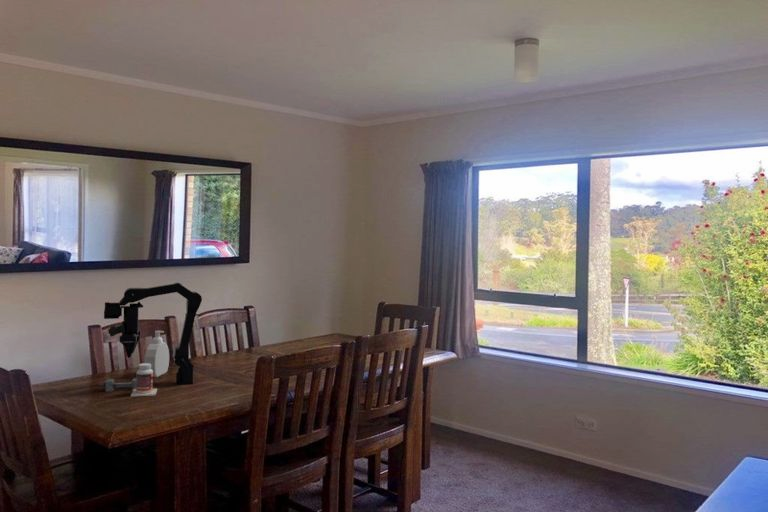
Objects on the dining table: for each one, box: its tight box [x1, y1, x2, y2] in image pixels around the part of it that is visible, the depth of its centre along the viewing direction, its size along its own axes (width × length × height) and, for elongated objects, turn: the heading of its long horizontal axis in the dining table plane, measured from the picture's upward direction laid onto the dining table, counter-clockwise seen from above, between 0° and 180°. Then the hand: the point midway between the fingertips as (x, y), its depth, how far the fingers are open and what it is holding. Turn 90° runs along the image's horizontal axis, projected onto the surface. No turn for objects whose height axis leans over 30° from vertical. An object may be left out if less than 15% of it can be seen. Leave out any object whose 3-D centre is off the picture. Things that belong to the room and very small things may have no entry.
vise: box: [98, 377, 136, 393], centre depth 246 cm, size 15×8×4 cm, turn 106°
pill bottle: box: [135, 362, 154, 393], centre depth 241 cm, size 6×6×11 cm
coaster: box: [130, 388, 158, 398], centre depth 241 cm, size 9×9×1 cm
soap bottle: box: [143, 330, 170, 378], centre depth 273 cm, size 16×5×20 cm, turn 177°
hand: (130, 355), depth 250 cm, fingers open, 9 cm apart
